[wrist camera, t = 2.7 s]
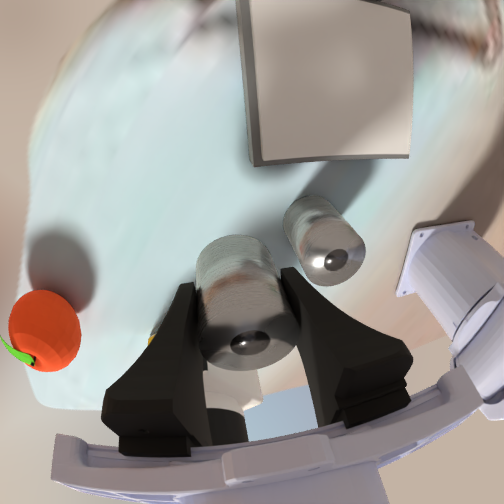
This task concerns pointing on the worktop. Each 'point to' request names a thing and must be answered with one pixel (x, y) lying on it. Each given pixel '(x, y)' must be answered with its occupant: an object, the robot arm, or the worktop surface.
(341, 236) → the spacer
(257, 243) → the spacer
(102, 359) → the worktop surface
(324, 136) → the scale
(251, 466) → the robot arm
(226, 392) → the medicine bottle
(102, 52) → the worktop surface
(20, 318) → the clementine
